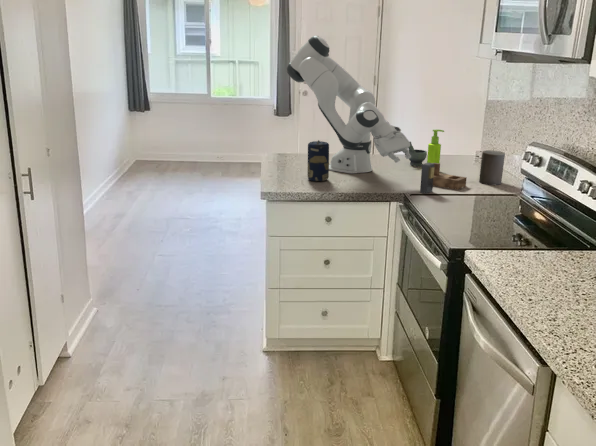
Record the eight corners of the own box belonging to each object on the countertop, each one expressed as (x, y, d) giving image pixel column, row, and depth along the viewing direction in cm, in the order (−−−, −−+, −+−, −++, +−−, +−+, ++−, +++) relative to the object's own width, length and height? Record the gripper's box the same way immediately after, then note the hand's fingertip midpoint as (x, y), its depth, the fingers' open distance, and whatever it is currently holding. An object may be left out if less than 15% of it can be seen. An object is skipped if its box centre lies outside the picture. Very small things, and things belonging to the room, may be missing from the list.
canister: (331, 178, 270) (332, 139, 264) (323, 183, 262) (324, 142, 256) (312, 176, 274) (313, 137, 268) (303, 181, 265) (304, 141, 260)
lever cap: (420, 192, 247) (422, 164, 244) (425, 190, 251) (428, 162, 247) (428, 194, 245) (430, 165, 241) (434, 191, 249) (436, 163, 245)
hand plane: (426, 184, 261) (427, 164, 259) (434, 181, 267) (436, 161, 264) (457, 189, 252) (459, 169, 249) (465, 186, 258) (467, 166, 255)
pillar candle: (475, 182, 265) (479, 149, 260) (483, 178, 272) (487, 146, 267) (497, 186, 259) (501, 152, 254) (504, 182, 267) (508, 149, 262)
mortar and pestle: (420, 162, 307) (422, 139, 304) (429, 166, 299) (431, 142, 295) (400, 163, 304) (402, 140, 300) (408, 167, 296) (410, 143, 292)
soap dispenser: (441, 172, 284) (444, 130, 278) (426, 172, 285) (429, 130, 279) (440, 170, 289) (444, 129, 283) (426, 169, 290) (429, 128, 284)
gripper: (376, 133, 246) (395, 159, 243) (401, 127, 261) (420, 151, 258) (366, 142, 250) (386, 168, 247) (392, 136, 265) (410, 160, 262)
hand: (403, 159), depth 252 cm, fingers open, 8 cm apart
